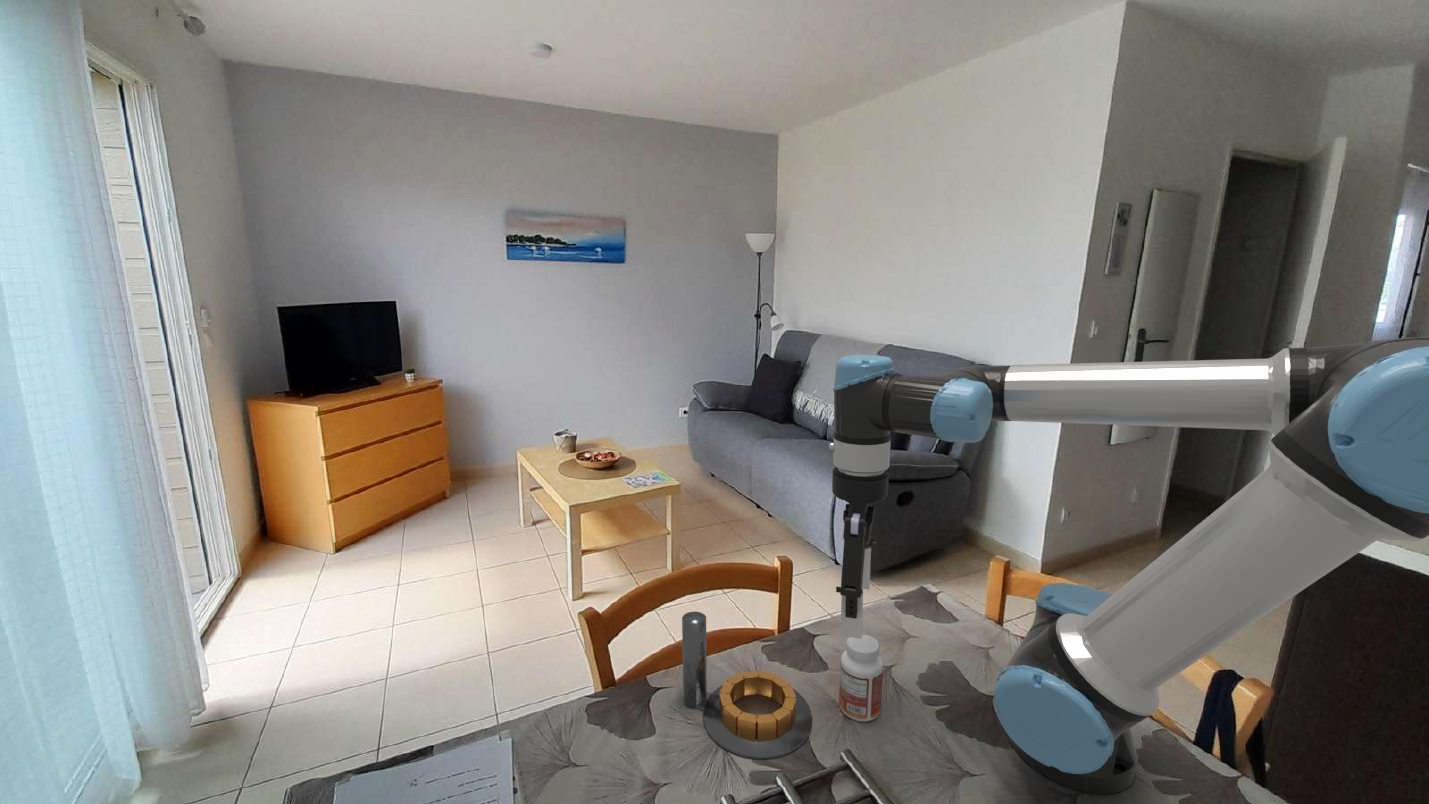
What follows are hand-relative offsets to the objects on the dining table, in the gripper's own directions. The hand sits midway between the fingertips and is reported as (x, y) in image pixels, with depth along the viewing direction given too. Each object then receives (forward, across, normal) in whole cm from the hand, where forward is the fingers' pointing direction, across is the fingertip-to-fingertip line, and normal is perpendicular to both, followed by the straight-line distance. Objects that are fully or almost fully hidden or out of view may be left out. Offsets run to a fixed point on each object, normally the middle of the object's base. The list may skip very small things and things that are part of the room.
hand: (856, 610), depth 85 cm
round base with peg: (+17, +5, -15) cm, 23 cm away
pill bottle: (+17, -1, +1) cm, 17 cm away
